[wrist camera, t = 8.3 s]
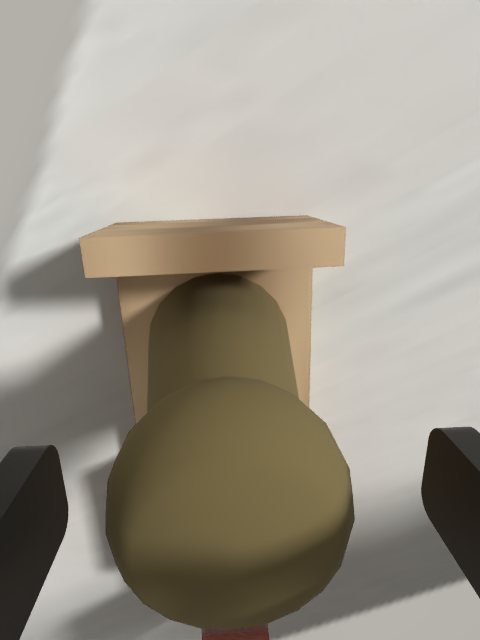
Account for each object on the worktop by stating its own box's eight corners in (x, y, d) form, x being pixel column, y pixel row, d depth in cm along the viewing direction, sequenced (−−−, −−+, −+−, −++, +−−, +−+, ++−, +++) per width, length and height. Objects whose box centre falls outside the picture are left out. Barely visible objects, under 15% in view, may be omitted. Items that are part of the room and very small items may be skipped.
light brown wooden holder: (306, 215, 17) (345, 227, 12) (300, 529, 23) (326, 623, 18) (116, 222, 17) (79, 238, 12) (156, 541, 22) (141, 642, 17)
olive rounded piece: (235, 426, 19) (268, 718, 9) (121, 359, 18) (-6, 613, 7) (316, 324, 18) (471, 524, 7) (200, 243, 16) (188, 347, 6)
